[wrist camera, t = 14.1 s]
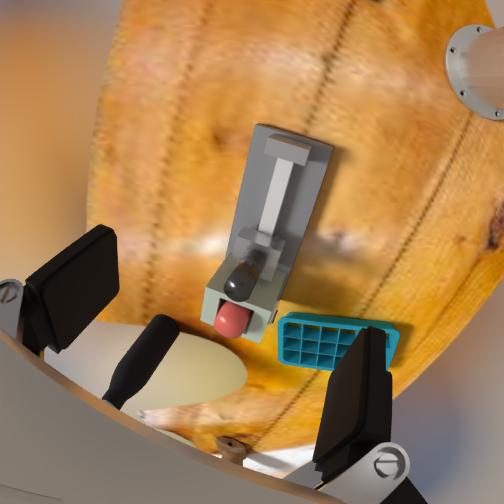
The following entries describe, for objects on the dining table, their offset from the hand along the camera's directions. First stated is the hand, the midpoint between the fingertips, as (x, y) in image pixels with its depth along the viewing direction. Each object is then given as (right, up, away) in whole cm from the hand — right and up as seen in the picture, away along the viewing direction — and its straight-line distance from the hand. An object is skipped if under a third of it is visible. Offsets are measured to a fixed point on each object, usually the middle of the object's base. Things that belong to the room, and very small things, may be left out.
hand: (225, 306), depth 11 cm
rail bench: (+4, +6, +34) cm, 35 cm away
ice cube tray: (+16, -13, +42) cm, 46 cm away
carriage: (+2, +3, +34) cm, 34 cm away
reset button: (0, -5, +34) cm, 34 cm away
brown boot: (-4, -61, +76) cm, 98 cm away
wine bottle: (-17, -14, +53) cm, 57 cm away
